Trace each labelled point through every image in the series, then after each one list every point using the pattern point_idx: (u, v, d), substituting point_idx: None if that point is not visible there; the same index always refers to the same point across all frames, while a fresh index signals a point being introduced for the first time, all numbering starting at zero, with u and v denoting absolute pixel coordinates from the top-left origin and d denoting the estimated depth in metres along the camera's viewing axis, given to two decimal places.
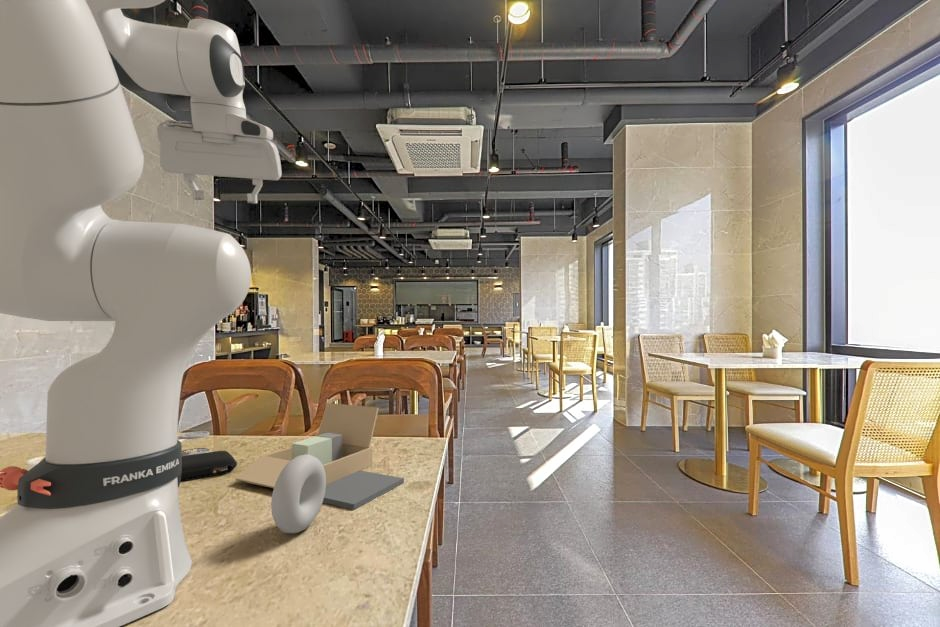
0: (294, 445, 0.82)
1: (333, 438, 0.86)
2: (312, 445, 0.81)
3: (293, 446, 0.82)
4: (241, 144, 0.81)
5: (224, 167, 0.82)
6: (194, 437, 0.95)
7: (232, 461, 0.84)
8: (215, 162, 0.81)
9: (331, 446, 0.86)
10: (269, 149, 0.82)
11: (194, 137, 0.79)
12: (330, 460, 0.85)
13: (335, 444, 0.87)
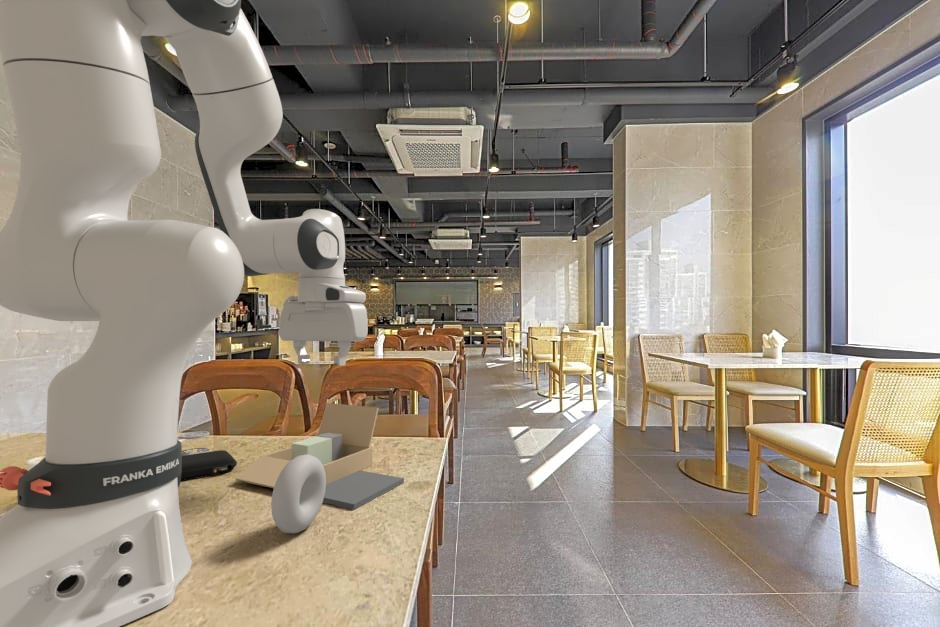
0: (294, 445, 0.82)
1: (333, 438, 0.86)
2: (312, 445, 0.81)
3: (293, 446, 0.82)
4: (328, 310, 0.83)
5: (317, 332, 0.85)
6: (194, 437, 0.95)
7: (232, 460, 0.85)
8: (311, 328, 0.85)
9: (331, 446, 0.86)
10: (347, 311, 0.81)
11: (300, 308, 0.87)
12: (330, 460, 0.85)
13: (335, 444, 0.87)
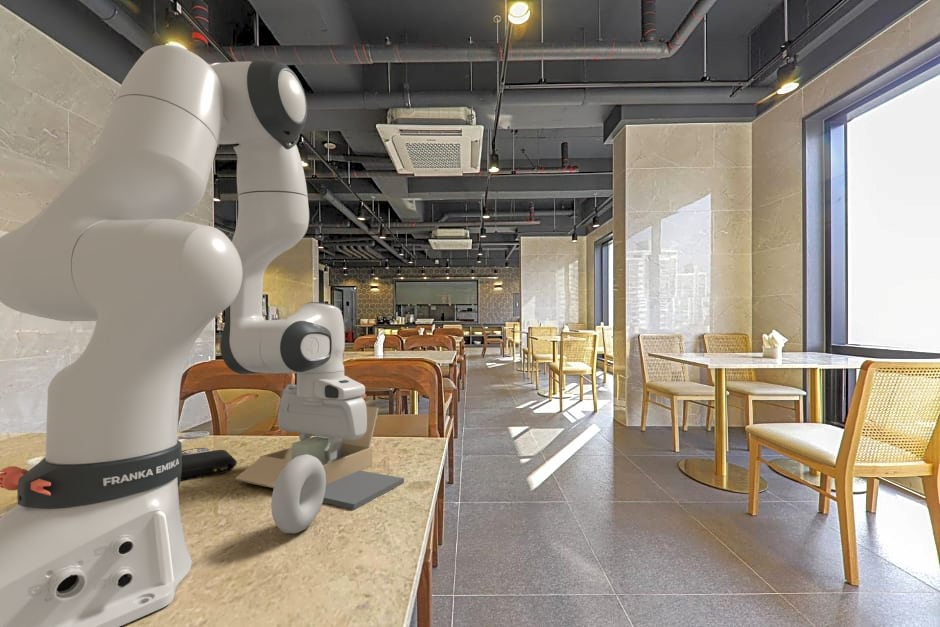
0: (294, 444, 0.82)
1: None
2: (312, 445, 0.81)
3: (293, 446, 0.82)
4: (327, 405, 0.82)
5: (316, 427, 0.84)
6: (194, 437, 0.95)
7: (232, 460, 0.85)
8: (310, 421, 0.85)
9: None
10: (346, 410, 0.80)
11: (299, 400, 0.86)
12: (330, 460, 0.85)
13: None
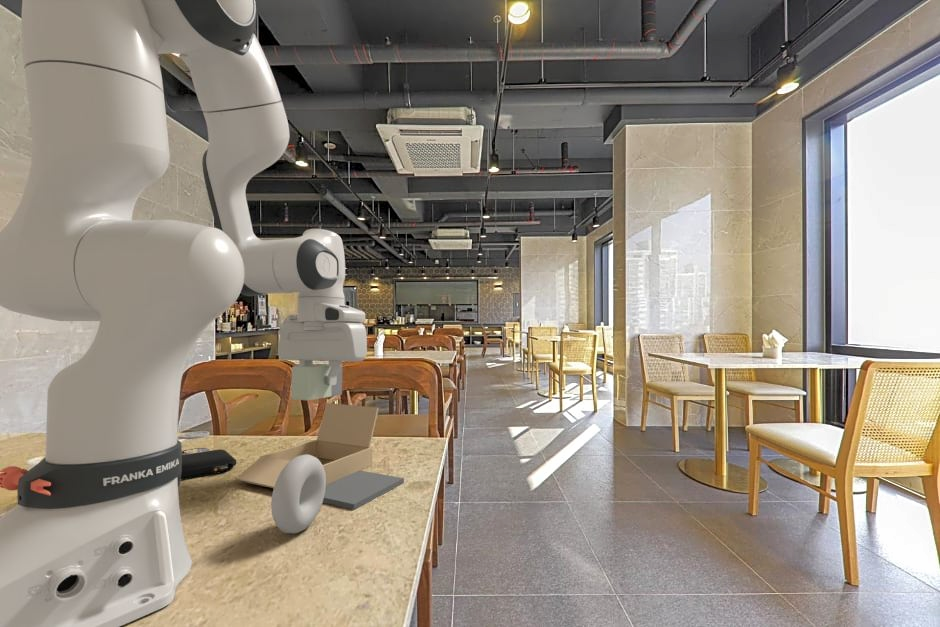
0: (294, 368, 0.82)
1: None
2: (312, 368, 0.82)
3: (293, 369, 0.82)
4: (327, 329, 0.83)
5: (316, 352, 0.84)
6: (194, 437, 0.95)
7: (232, 459, 0.86)
8: (310, 347, 0.85)
9: None
10: (346, 331, 0.80)
11: (299, 327, 0.86)
12: (330, 387, 0.85)
13: None
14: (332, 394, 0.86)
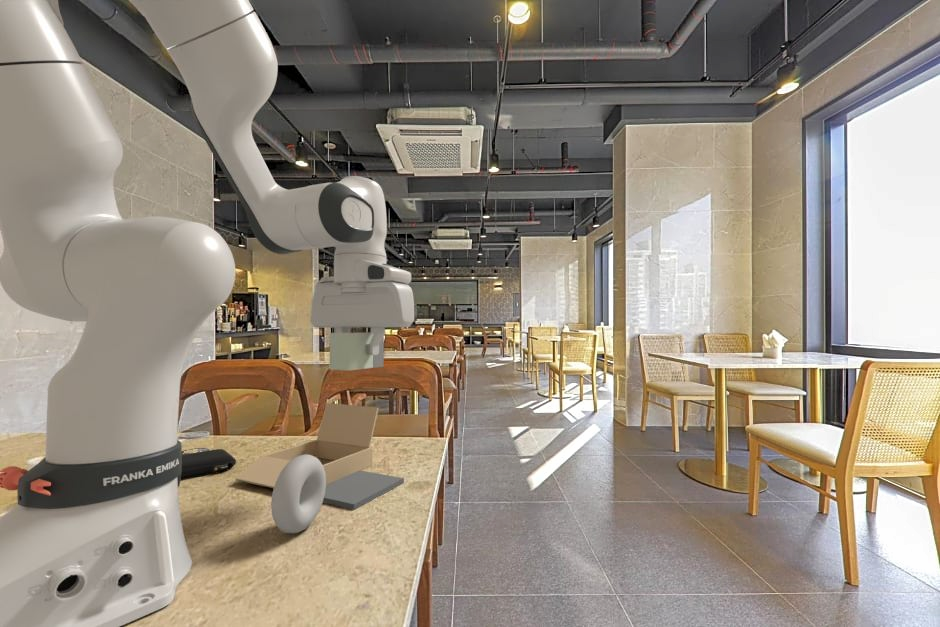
0: (333, 334, 0.72)
1: None
2: (353, 334, 0.71)
3: (331, 336, 0.72)
4: (370, 291, 0.72)
5: (356, 317, 0.74)
6: (194, 437, 0.95)
7: (232, 458, 0.86)
8: (349, 312, 0.75)
9: None
10: (393, 292, 0.70)
11: (335, 290, 0.76)
12: (371, 357, 0.75)
13: None
14: (374, 365, 0.76)
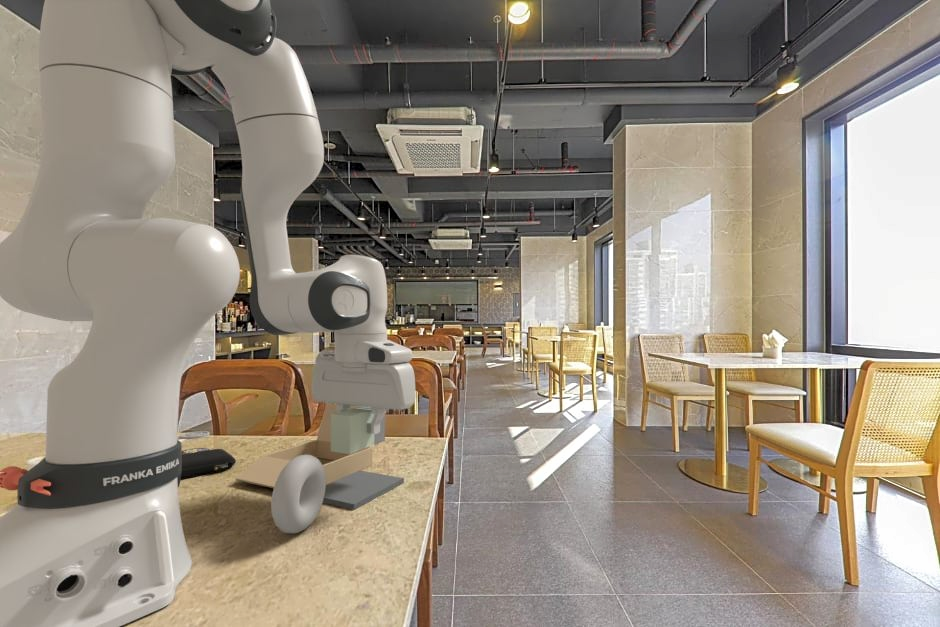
0: (334, 416, 0.71)
1: None
2: (354, 416, 0.71)
3: (332, 417, 0.72)
4: (370, 371, 0.72)
5: (357, 396, 0.74)
6: (194, 437, 0.95)
7: (231, 458, 0.86)
8: (350, 390, 0.74)
9: None
10: (394, 376, 0.70)
11: (336, 366, 0.76)
12: (373, 434, 0.75)
13: None
14: (375, 442, 0.76)
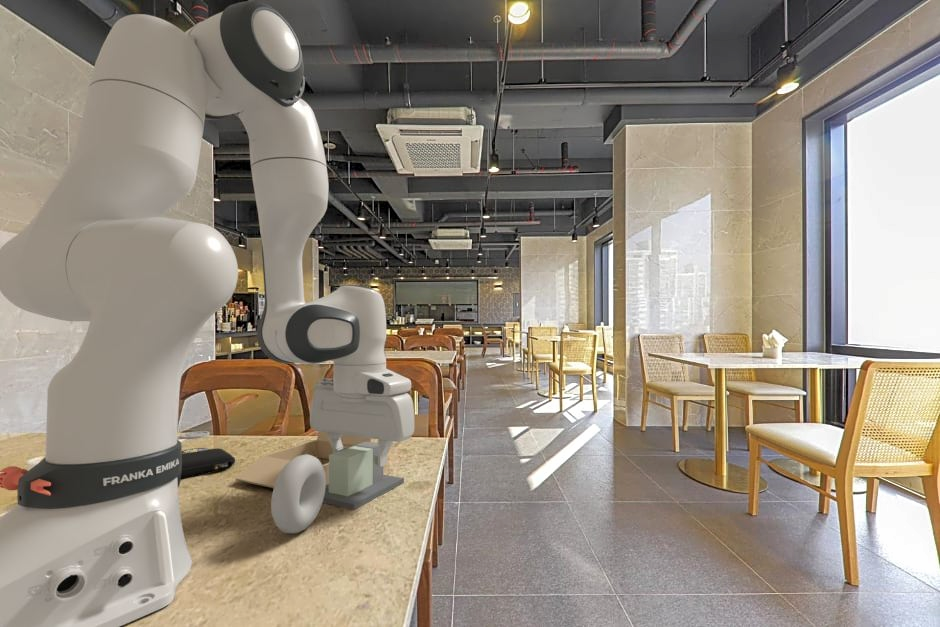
0: (332, 456, 0.71)
1: (374, 448, 0.75)
2: (352, 457, 0.71)
3: (330, 458, 0.71)
4: (369, 402, 0.72)
5: (355, 427, 0.73)
6: (194, 437, 0.95)
7: (231, 457, 0.87)
8: (349, 421, 0.74)
9: (372, 457, 0.75)
10: (393, 408, 0.69)
11: (335, 396, 0.75)
12: (371, 473, 0.75)
13: None
14: (373, 481, 0.75)
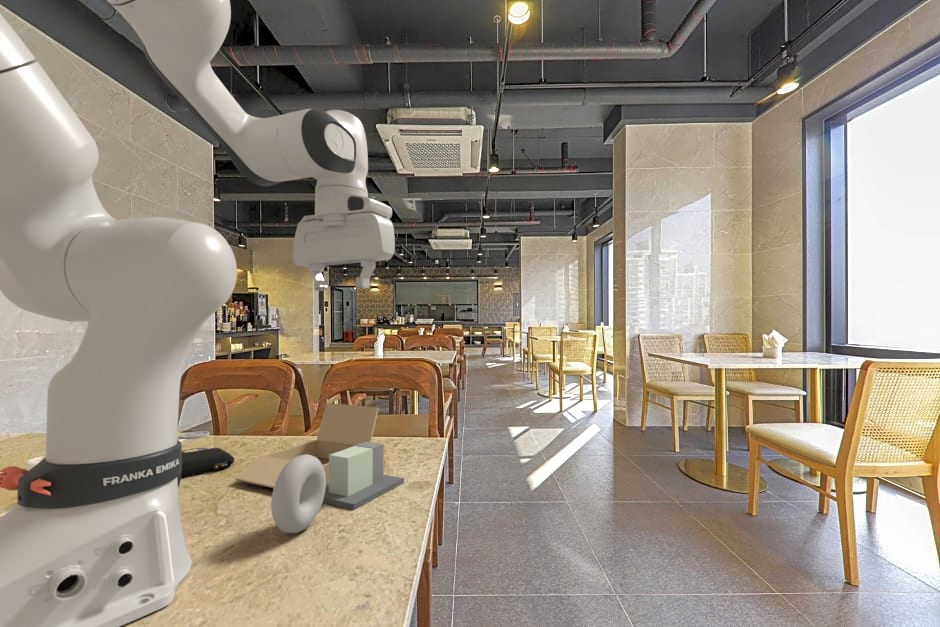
0: (332, 456, 0.71)
1: (374, 448, 0.75)
2: (352, 457, 0.71)
3: (330, 458, 0.71)
4: (350, 223, 0.73)
5: (337, 251, 0.74)
6: (194, 437, 0.95)
7: (230, 457, 0.87)
8: (330, 246, 0.75)
9: (372, 457, 0.75)
10: (372, 222, 0.70)
11: (317, 225, 0.77)
12: (371, 473, 0.75)
13: (376, 454, 0.76)
14: (373, 481, 0.75)
